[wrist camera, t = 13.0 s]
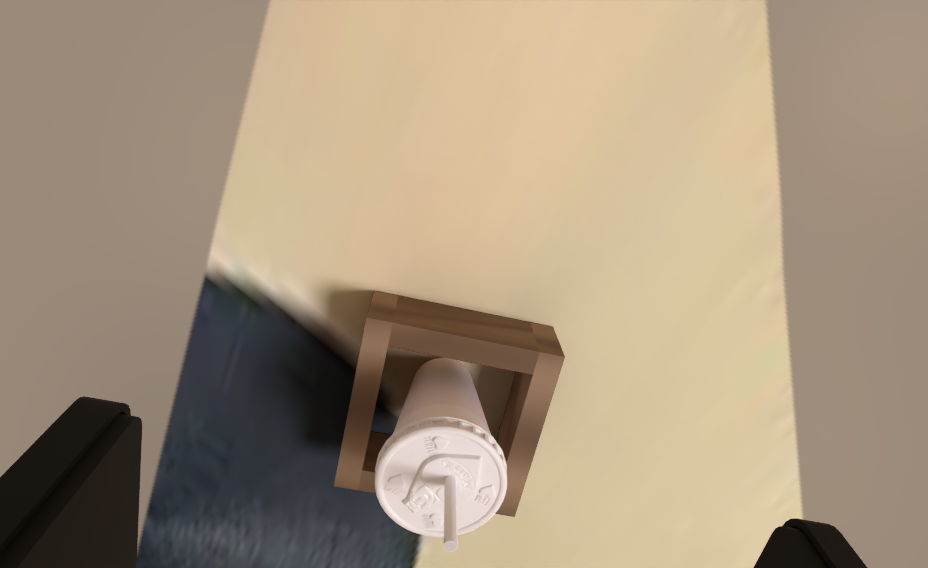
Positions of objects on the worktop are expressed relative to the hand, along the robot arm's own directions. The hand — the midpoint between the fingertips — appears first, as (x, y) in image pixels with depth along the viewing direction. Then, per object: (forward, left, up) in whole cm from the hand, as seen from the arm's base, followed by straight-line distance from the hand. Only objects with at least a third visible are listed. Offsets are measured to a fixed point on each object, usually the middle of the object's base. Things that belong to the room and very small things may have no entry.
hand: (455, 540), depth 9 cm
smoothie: (+12, +2, -27) cm, 30 cm away
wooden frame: (+12, +3, -27) cm, 30 cm away
